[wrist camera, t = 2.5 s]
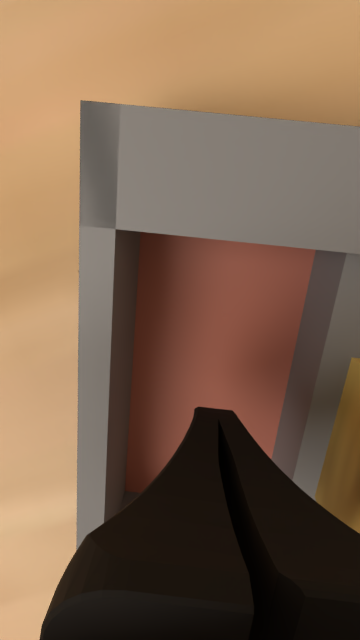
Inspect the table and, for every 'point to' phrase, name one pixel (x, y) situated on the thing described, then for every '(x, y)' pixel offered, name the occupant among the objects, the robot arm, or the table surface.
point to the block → (344, 456)
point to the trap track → (210, 289)
